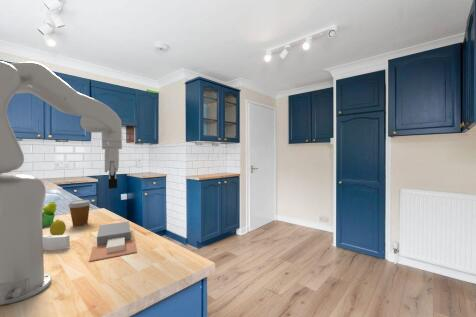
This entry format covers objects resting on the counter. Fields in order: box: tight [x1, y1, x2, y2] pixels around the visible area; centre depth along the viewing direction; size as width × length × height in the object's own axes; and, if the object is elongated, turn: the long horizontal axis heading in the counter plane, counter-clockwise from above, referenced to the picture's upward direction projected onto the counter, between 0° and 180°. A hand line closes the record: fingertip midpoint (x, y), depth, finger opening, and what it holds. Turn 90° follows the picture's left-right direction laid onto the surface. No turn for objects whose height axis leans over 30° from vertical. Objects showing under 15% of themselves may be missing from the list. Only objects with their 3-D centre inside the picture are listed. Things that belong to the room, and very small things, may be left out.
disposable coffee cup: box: [67, 199, 91, 227], centre depth 117 cm, size 10×10×12 cm
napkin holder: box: [43, 234, 71, 251], centre depth 89 cm, size 15×11×6 cm
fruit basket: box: [42, 201, 57, 228], centre depth 119 cm, size 11×9×11 cm
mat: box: [88, 239, 137, 263], centre depth 87 cm, size 13×15×1 cm
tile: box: [106, 237, 125, 253], centre depth 89 cm, size 9×6×2 cm, turn 26°
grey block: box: [96, 221, 132, 246], centre depth 99 cm, size 16×12×4 cm
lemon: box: [49, 219, 67, 235], centre depth 100 cm, size 6×6×8 cm
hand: (112, 188), depth 98 cm, fingers closed
